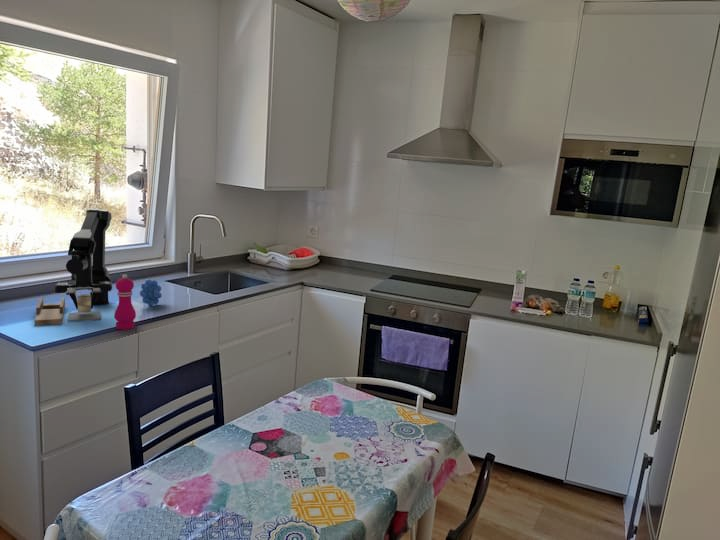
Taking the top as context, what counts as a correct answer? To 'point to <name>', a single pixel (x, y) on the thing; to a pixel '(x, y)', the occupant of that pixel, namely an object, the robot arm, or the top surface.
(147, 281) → the grapes
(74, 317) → the slate pad
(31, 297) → the top surface
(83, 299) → the maple block
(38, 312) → the walnut trough
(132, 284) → the pepper mill
